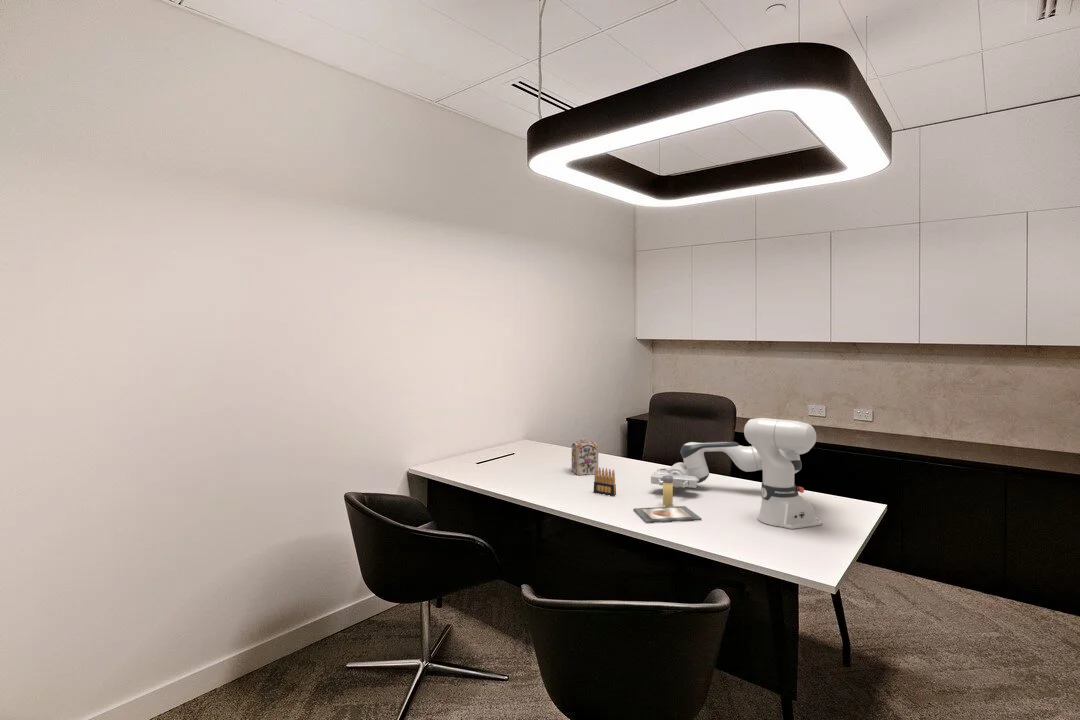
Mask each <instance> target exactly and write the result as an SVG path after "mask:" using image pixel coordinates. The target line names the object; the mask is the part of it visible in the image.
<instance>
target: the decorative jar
mask: <svg viewBox="0 0 1080 720" xmlns="http://www.w3.org/2000/svg"><path fill="white" fill-rule="evenodd" d="M596 467H597V470H598V471H599V447H598V445H597V443H596V442H595V441H592V440H590V438H587V437H581V438H579V440H578V441H577V440H576V441H573V443H572V445H571V471H572V472H573V473H576V474H577V475H576V474H575V475H576V476H586V475H585V474H595V468H596Z"/></svg>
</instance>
